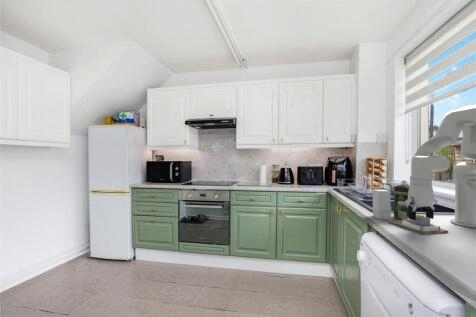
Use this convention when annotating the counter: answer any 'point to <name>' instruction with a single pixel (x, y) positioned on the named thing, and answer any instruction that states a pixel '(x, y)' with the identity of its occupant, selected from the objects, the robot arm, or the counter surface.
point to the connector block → (421, 221)
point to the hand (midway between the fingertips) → (421, 218)
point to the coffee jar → (401, 201)
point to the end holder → (426, 228)
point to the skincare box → (381, 204)
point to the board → (399, 223)
